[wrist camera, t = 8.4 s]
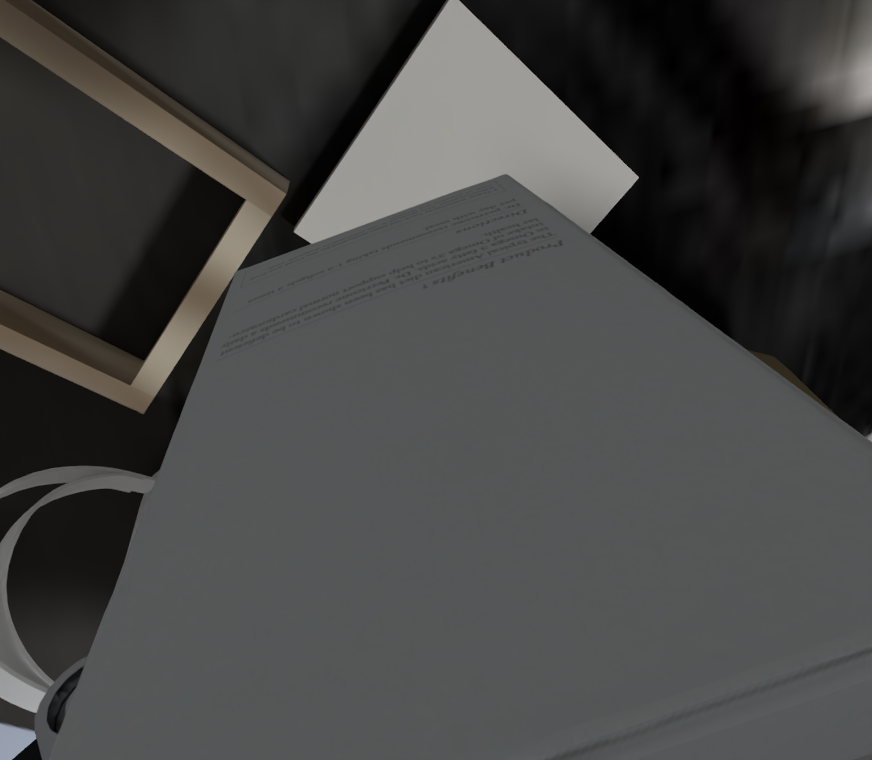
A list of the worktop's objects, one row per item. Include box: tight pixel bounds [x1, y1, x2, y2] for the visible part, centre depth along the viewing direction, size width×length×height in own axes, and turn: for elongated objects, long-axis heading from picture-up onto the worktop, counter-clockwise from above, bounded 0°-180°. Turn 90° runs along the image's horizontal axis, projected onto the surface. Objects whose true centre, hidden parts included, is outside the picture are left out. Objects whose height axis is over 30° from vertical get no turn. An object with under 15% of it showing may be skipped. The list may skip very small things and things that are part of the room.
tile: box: [294, 0, 639, 244], centre depth 29 cm, size 12×12×1 cm
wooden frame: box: [0, 0, 290, 414], centre depth 25 cm, size 13×13×2 cm
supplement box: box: [48, 174, 872, 760], centre depth 11 cm, size 7×7×13 cm
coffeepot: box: [0, 466, 160, 713], centre depth 29 cm, size 11×25×19 cm, turn 38°
